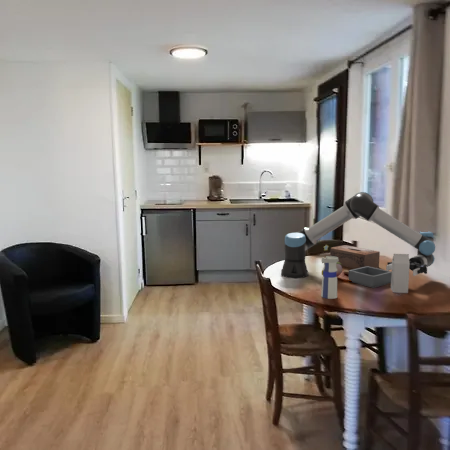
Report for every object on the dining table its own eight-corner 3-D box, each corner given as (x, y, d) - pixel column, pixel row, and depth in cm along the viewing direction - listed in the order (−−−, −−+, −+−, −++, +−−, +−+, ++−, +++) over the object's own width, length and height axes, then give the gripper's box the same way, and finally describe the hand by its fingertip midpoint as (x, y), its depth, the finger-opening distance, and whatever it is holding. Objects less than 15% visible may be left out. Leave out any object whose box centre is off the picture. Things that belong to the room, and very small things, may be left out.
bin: (373, 287, 235) (373, 276, 234) (348, 281, 248) (348, 270, 247) (392, 282, 244) (392, 271, 244) (367, 276, 257) (367, 266, 256)
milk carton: (408, 293, 226) (410, 255, 223) (392, 292, 227) (394, 255, 224) (405, 289, 233) (407, 252, 230) (390, 288, 234) (392, 252, 231)
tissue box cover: (378, 267, 278) (379, 251, 277) (364, 271, 270) (364, 254, 268) (344, 260, 299) (345, 245, 297) (330, 263, 290) (330, 247, 289)
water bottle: (316, 296, 222) (317, 245, 218) (326, 292, 228) (327, 243, 224) (331, 300, 216) (332, 248, 212) (340, 296, 222) (342, 245, 218)
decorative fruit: (335, 275, 260) (336, 258, 258) (344, 279, 252) (345, 261, 251) (321, 277, 256) (322, 259, 255) (330, 281, 249) (330, 263, 247)
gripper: (441, 274, 234) (425, 282, 219) (393, 266, 251) (376, 273, 236) (442, 260, 233) (426, 267, 218) (394, 252, 250) (376, 259, 235)
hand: (400, 270), depth 227 cm, fingers open, 13 cm apart
